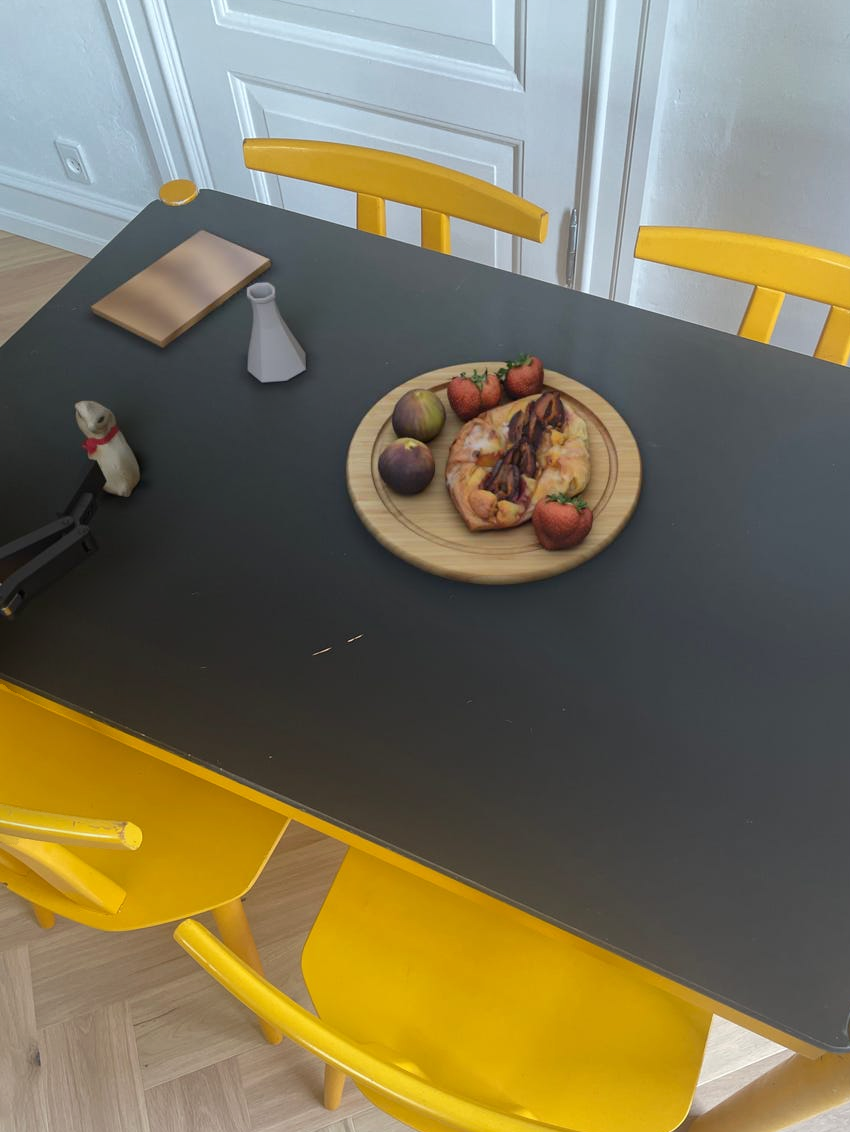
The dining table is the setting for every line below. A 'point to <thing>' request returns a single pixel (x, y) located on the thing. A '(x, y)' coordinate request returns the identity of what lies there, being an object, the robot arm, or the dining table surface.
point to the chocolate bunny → (108, 447)
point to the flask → (271, 339)
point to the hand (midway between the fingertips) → (29, 457)
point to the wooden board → (181, 288)
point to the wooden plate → (494, 472)
